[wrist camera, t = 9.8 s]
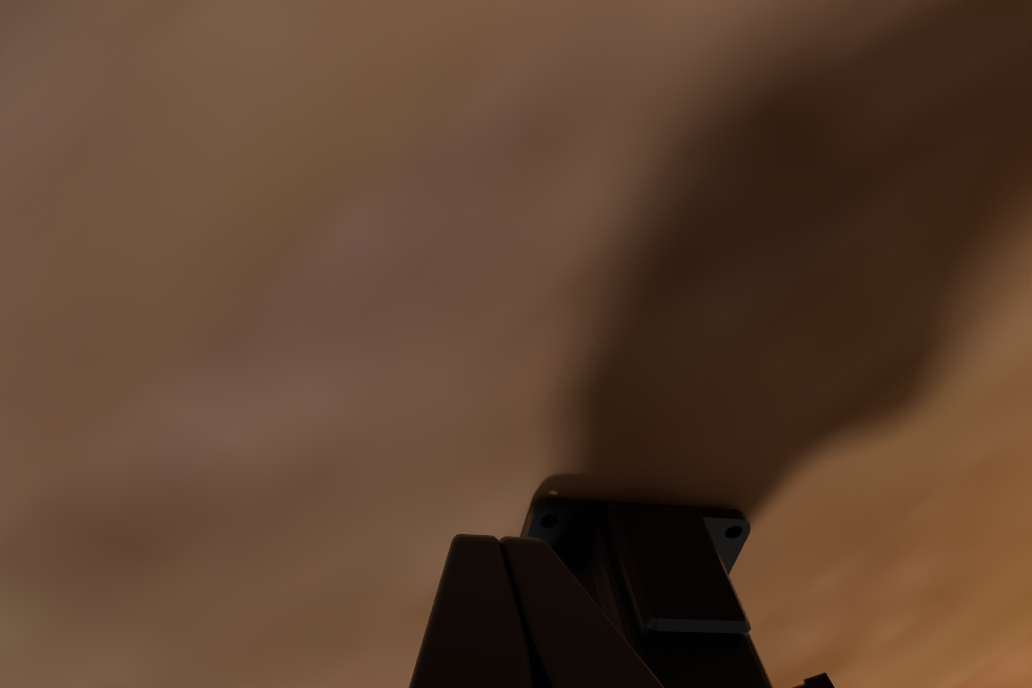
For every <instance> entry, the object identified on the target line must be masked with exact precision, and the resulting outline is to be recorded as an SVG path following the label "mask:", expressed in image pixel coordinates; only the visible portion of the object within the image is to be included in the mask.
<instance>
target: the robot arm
mask: <svg viewBox="0 0 1032 688" xmlns="http://www.w3.org/2000/svg"><path fill="white" fill-rule="evenodd" d="M550 514H553V515H552V516H551V517H546V518H545V517H544V516H546V515H550ZM732 526H733V527H732ZM730 527H731V528H730ZM750 529H751V528H750V525H749V522H748V520H747V518H746V516H745V514H744V513H743V512H741V511H739V510H735V509H721V508H705V507H690V506H675V505H660V504H645V503H630V502H615V501H599V500H584V499H569V498H554V497H550V498H543V499H540V500H538V501H537V502H535V503H534V504H533V505H532V507H531V508H530V511H529V514H528V517H527V520H526V523H525V527H524V530H523V533H522V536H521V537H509V536H507V537H503V538H501V539H500V540H498V539H497V538H495V537H494V536H490V535H470V534H458V535H456V536H455V537H454V538H453V540H452V542H451V545H450V549H449V552H448V556H447V559H446V563H445V566H444V569H443V573H442V576H441V580H440V583H439V586H438V590H437V593H436V597H435V600H434V604H433V607H432V610H431V614H430V617H429V621H428V624H427V627H426V631H425V634H424V638H423V641H422V645H421V648H420V651H419V655H418V658H417V662H416V665H415V668H414V672H413V675H412V679H411V682H410V686H409V688H773V686H772V684H771V682H770V680H769V677H768V675H767V673H766V671H765V668H764V666H763V664H762V661H761V659H760V657H759V655H758V652H757V650H756V648H755V645H754V643H753V641H752V639H751V636H750V634H749V631H750V629H751V627H750V623H749V620H748V618H747V616H746V614H745V611H744V609H743V607H742V605H741V602H740V600H739V598H738V596H737V593H736V591H735V589H734V587H733V584H732V582H731V580H730V578H729V573H730V571H731V569H732V567H733V565H734V563H735V561H736V559H737V557H738V555H739V553H740V551H741V549H742V547H743V545H744V543H745V541H746V539H747V537H748V535H749V533H750ZM793 688H834V686H833V684H832V683H831V681H830V679H829V677H828V676H827V674H826V673H822V674H819V675H816V676H813V677H810V678H807V679H804V684H802V685H799V686H796V687H793Z"/></svg>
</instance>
